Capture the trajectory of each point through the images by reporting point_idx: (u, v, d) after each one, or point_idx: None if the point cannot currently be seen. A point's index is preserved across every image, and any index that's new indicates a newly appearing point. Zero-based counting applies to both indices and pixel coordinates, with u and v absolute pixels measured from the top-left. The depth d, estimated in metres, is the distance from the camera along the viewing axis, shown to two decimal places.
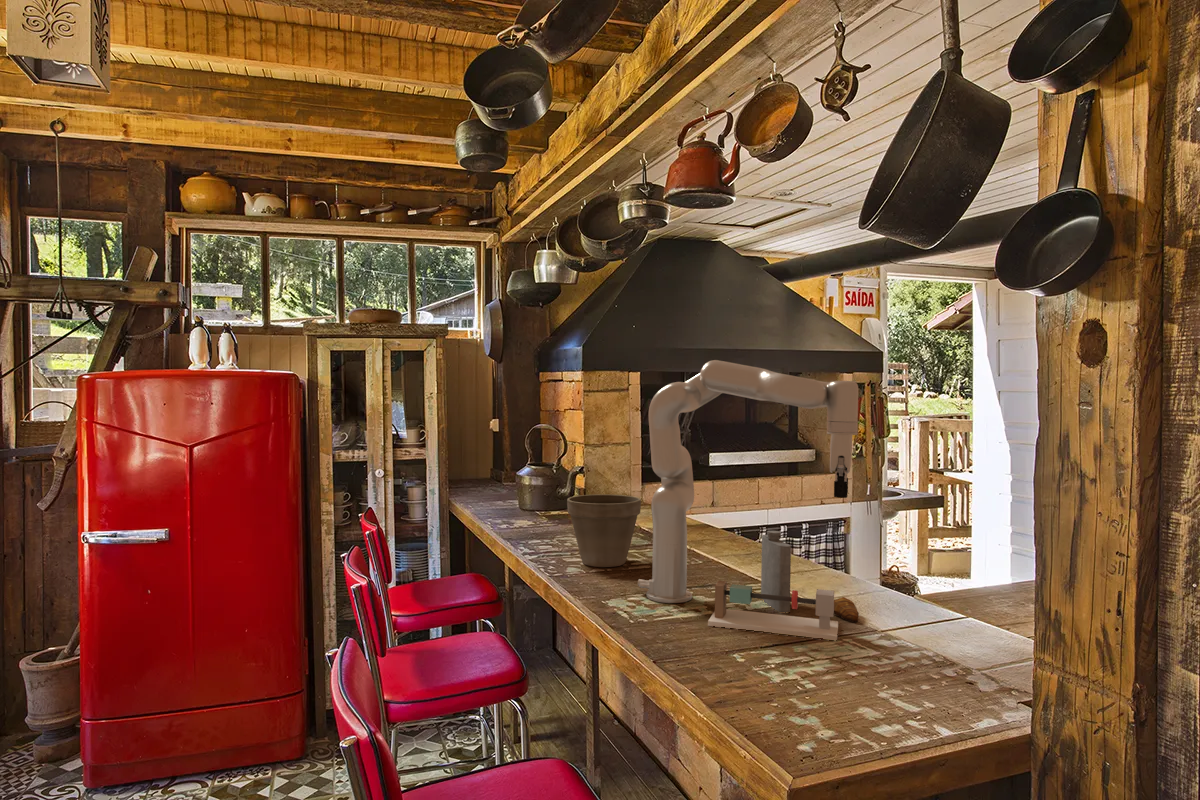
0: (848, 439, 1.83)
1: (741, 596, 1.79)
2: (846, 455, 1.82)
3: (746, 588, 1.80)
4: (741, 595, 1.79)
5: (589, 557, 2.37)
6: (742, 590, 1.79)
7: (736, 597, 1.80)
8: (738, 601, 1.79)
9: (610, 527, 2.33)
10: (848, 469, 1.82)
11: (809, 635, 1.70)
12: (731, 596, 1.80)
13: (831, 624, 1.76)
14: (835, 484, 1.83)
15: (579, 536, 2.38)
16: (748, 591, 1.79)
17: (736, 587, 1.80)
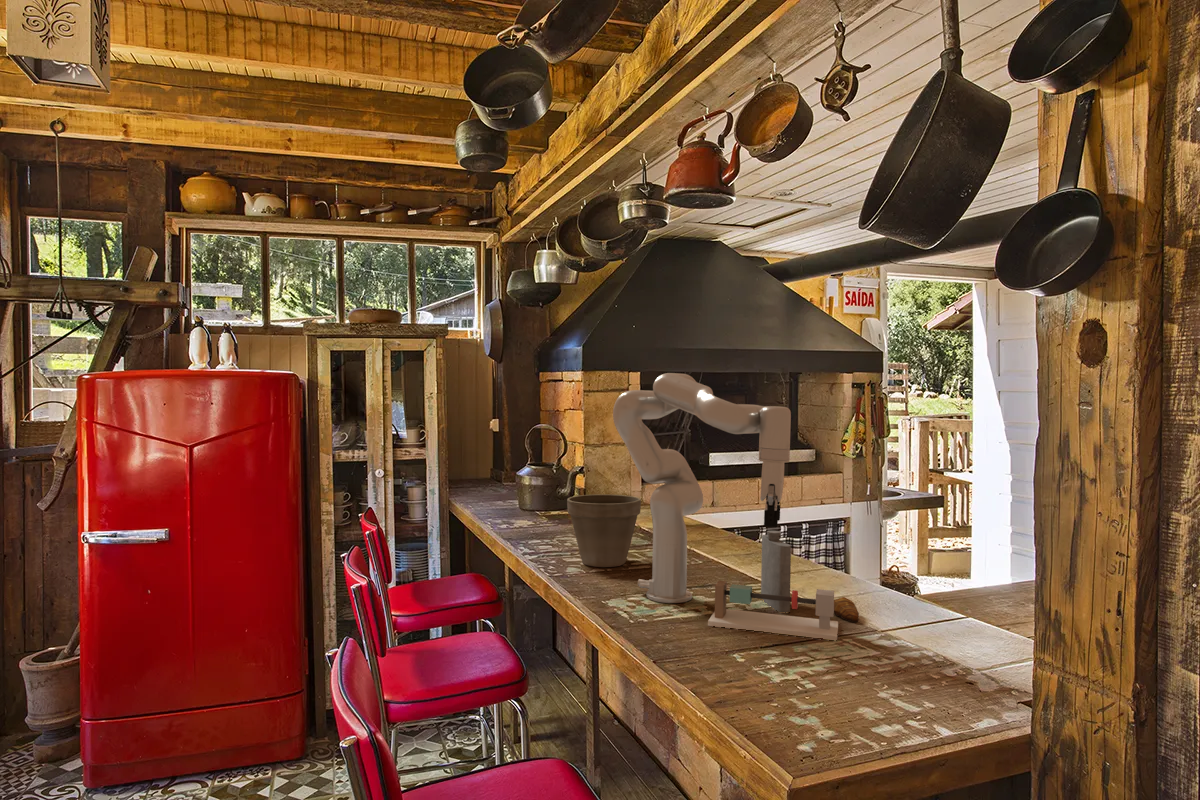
0: (779, 467, 1.78)
1: (741, 596, 1.79)
2: (777, 483, 1.78)
3: (746, 588, 1.80)
4: (741, 595, 1.79)
5: (589, 557, 2.37)
6: (742, 590, 1.79)
7: (736, 597, 1.80)
8: (738, 601, 1.79)
9: (610, 527, 2.33)
10: (778, 498, 1.78)
11: (809, 635, 1.70)
12: (731, 596, 1.80)
13: (831, 624, 1.76)
14: (765, 513, 1.78)
15: (579, 536, 2.38)
16: (748, 591, 1.79)
17: (736, 587, 1.80)
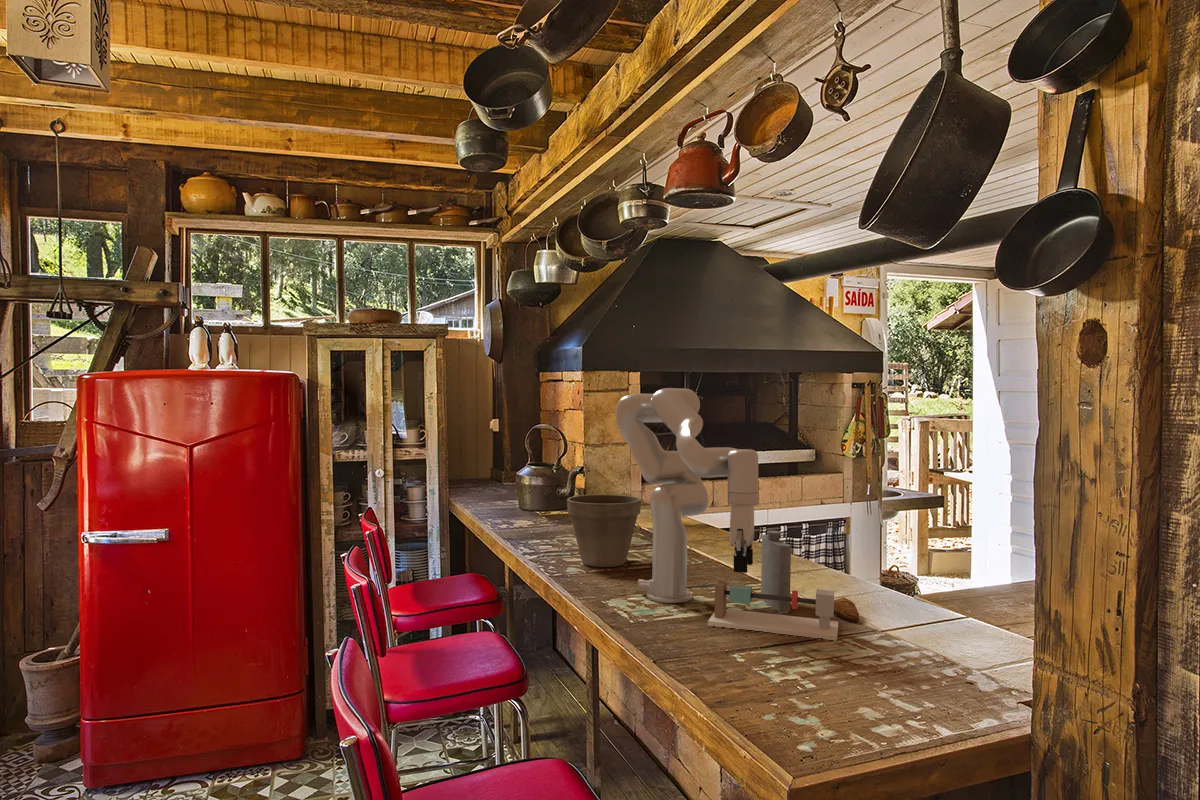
0: (747, 511, 1.76)
1: (741, 596, 1.79)
2: (745, 528, 1.76)
3: (746, 588, 1.80)
4: (741, 595, 1.79)
5: (589, 557, 2.37)
6: (742, 590, 1.79)
7: (736, 597, 1.80)
8: (738, 601, 1.79)
9: (610, 527, 2.33)
10: (747, 543, 1.75)
11: (809, 635, 1.70)
12: (731, 596, 1.80)
13: (831, 624, 1.76)
14: (735, 558, 1.76)
15: (579, 536, 2.38)
16: (748, 591, 1.79)
17: (736, 587, 1.80)
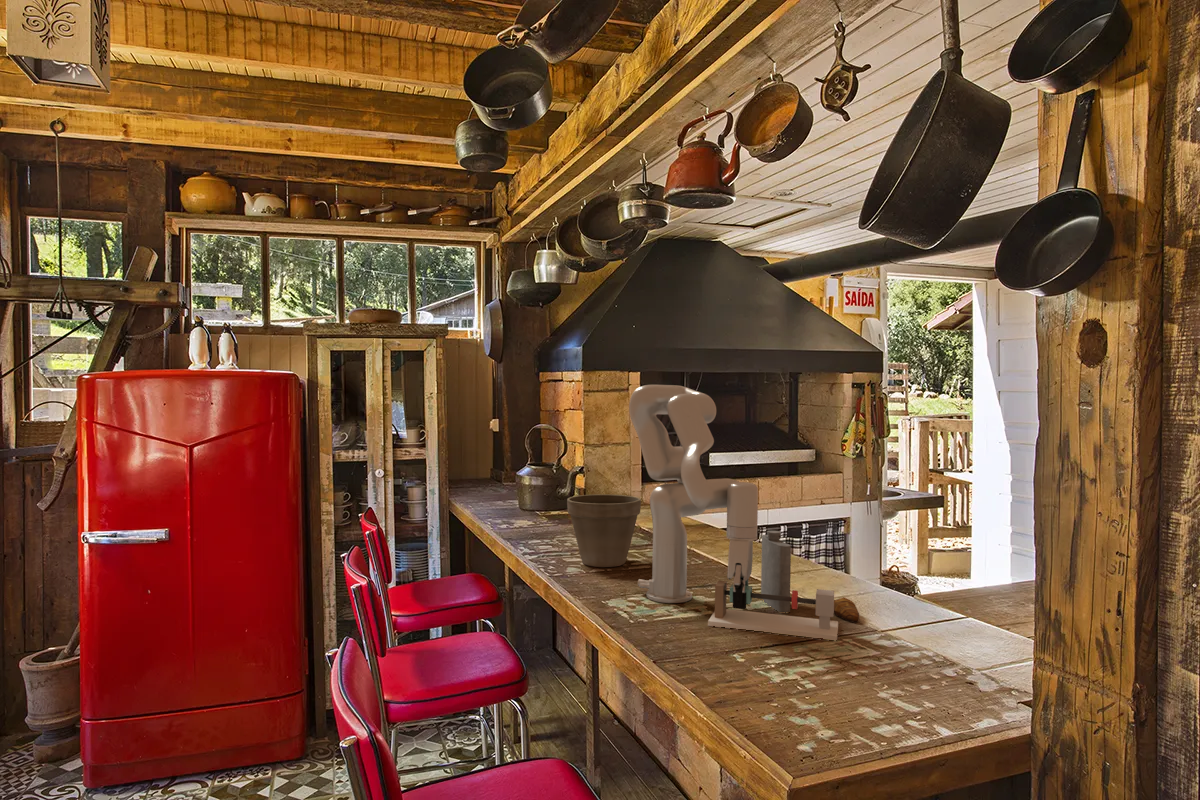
0: (745, 546, 1.76)
1: None
2: (743, 562, 1.76)
3: (746, 588, 1.80)
4: None
5: (589, 557, 2.37)
6: None
7: None
8: None
9: (610, 527, 2.33)
10: (745, 577, 1.76)
11: (809, 635, 1.70)
12: (731, 596, 1.80)
13: (831, 624, 1.76)
14: (734, 594, 1.79)
15: (579, 536, 2.38)
16: (748, 591, 1.79)
17: None
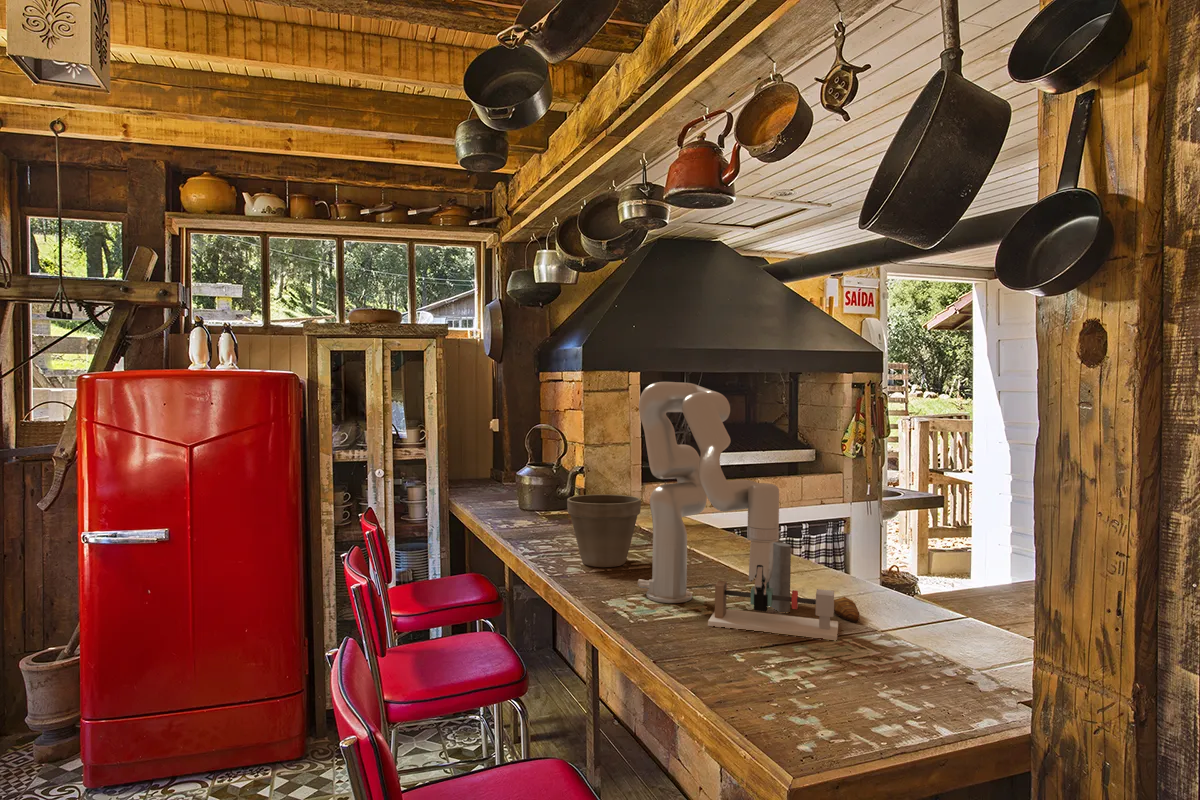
0: (767, 547, 1.75)
1: None
2: (765, 564, 1.74)
3: (767, 590, 1.78)
4: None
5: (589, 557, 2.37)
6: None
7: None
8: None
9: (610, 527, 2.33)
10: (767, 579, 1.74)
11: (809, 635, 1.70)
12: (752, 598, 1.78)
13: (831, 624, 1.76)
14: (755, 597, 1.77)
15: (579, 536, 2.38)
16: (769, 593, 1.77)
17: None
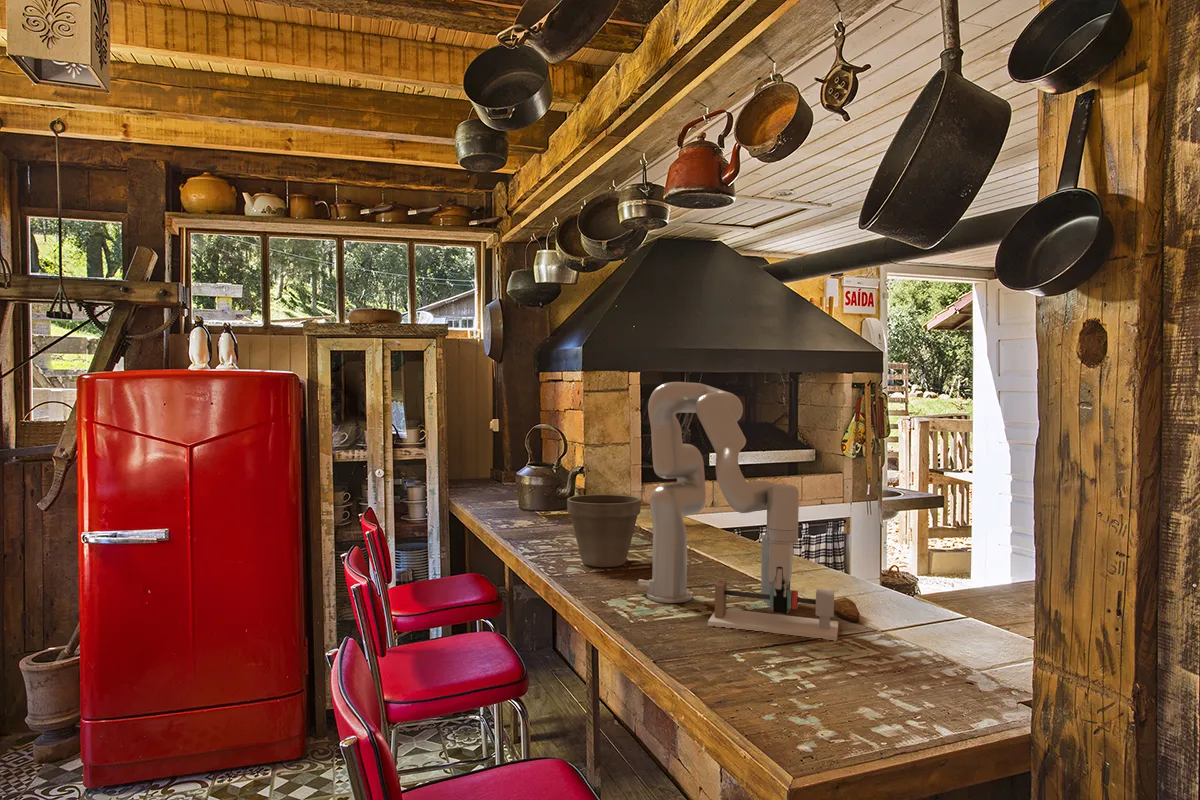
0: (787, 549, 1.73)
1: None
2: (785, 566, 1.73)
3: (787, 592, 1.76)
4: None
5: (589, 557, 2.37)
6: None
7: None
8: None
9: (610, 527, 2.33)
10: (787, 581, 1.73)
11: (809, 635, 1.70)
12: (771, 600, 1.77)
13: (831, 624, 1.76)
14: (774, 599, 1.76)
15: (579, 536, 2.38)
16: (789, 595, 1.75)
17: None
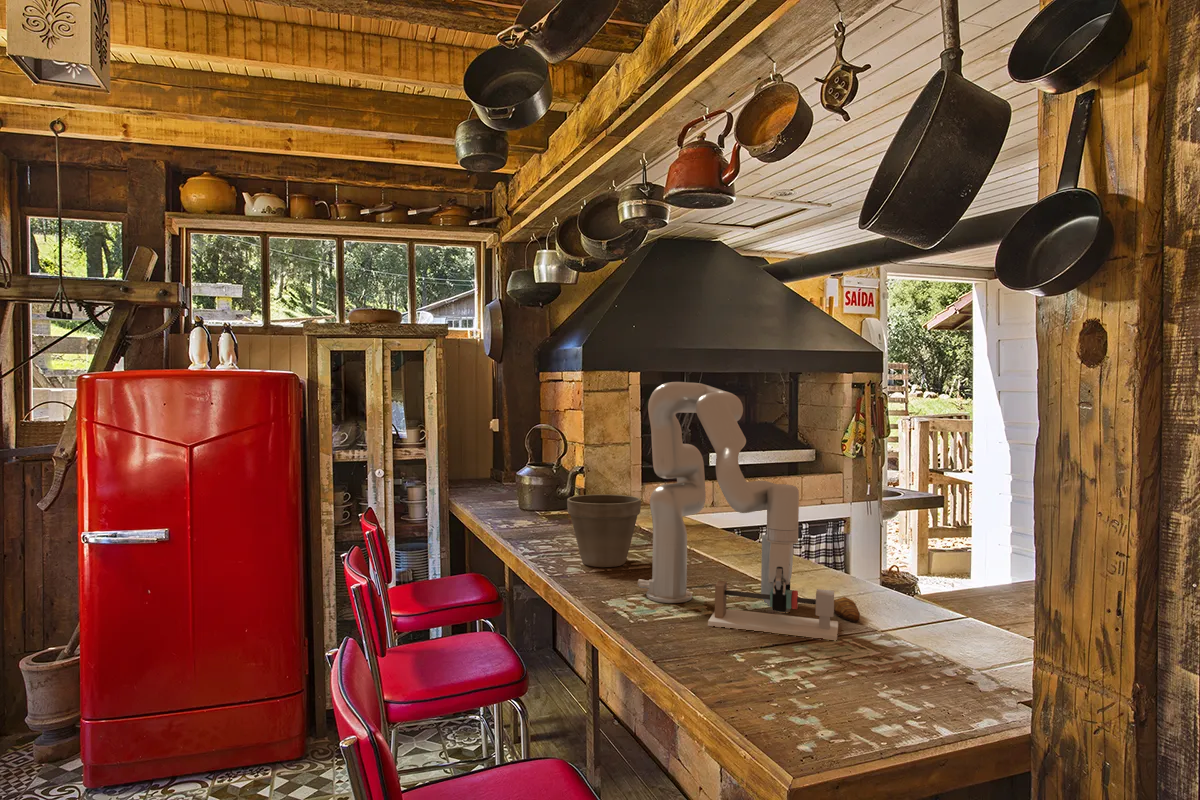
0: (787, 549, 1.73)
1: None
2: (785, 566, 1.73)
3: (787, 592, 1.76)
4: None
5: (589, 557, 2.37)
6: None
7: None
8: None
9: (610, 527, 2.33)
10: (787, 581, 1.73)
11: (809, 635, 1.70)
12: (771, 600, 1.77)
13: (831, 624, 1.76)
14: (773, 596, 1.73)
15: (579, 536, 2.38)
16: (789, 595, 1.75)
17: None
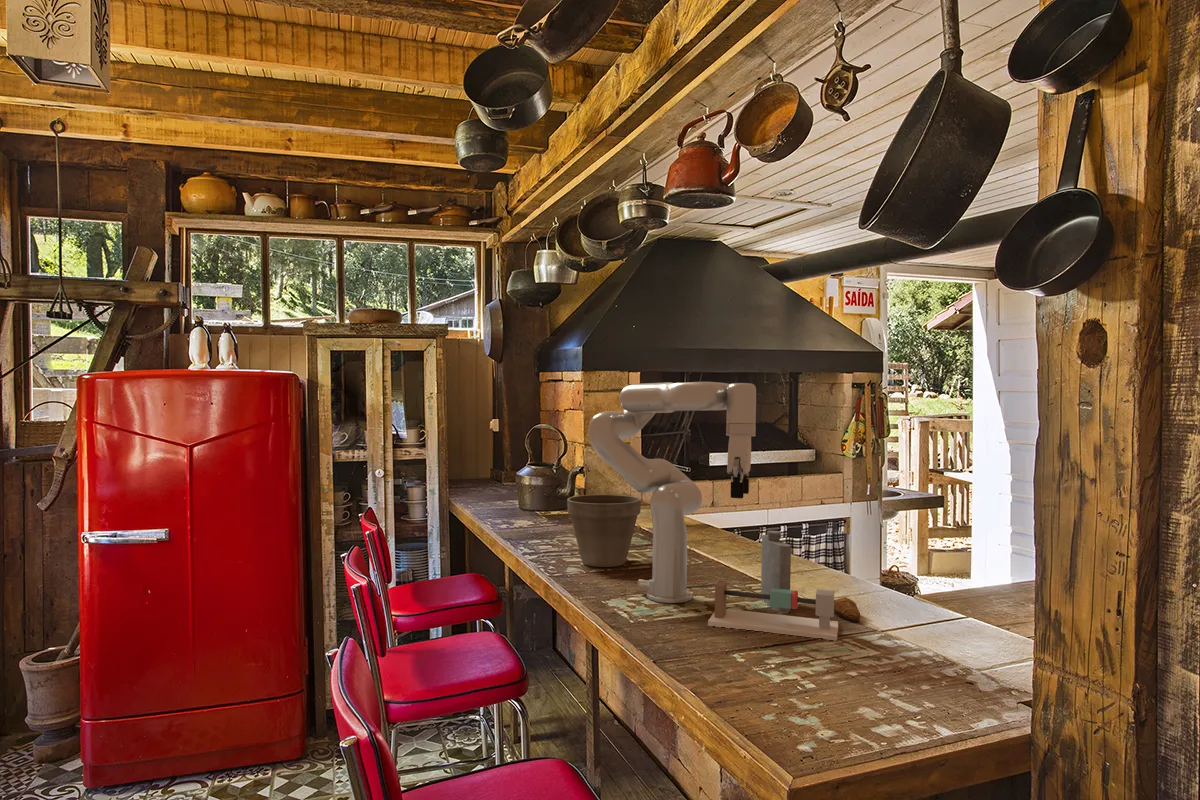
0: (744, 440, 1.85)
1: (782, 600, 1.76)
2: (742, 456, 1.85)
3: (787, 592, 1.76)
4: (782, 599, 1.76)
5: (589, 557, 2.37)
6: (783, 594, 1.76)
7: (777, 601, 1.76)
8: (779, 605, 1.76)
9: (610, 527, 2.33)
10: (744, 470, 1.85)
11: (809, 635, 1.70)
12: (771, 600, 1.77)
13: (831, 624, 1.76)
14: (731, 485, 1.86)
15: (579, 536, 2.38)
16: (789, 595, 1.75)
17: (776, 591, 1.77)
